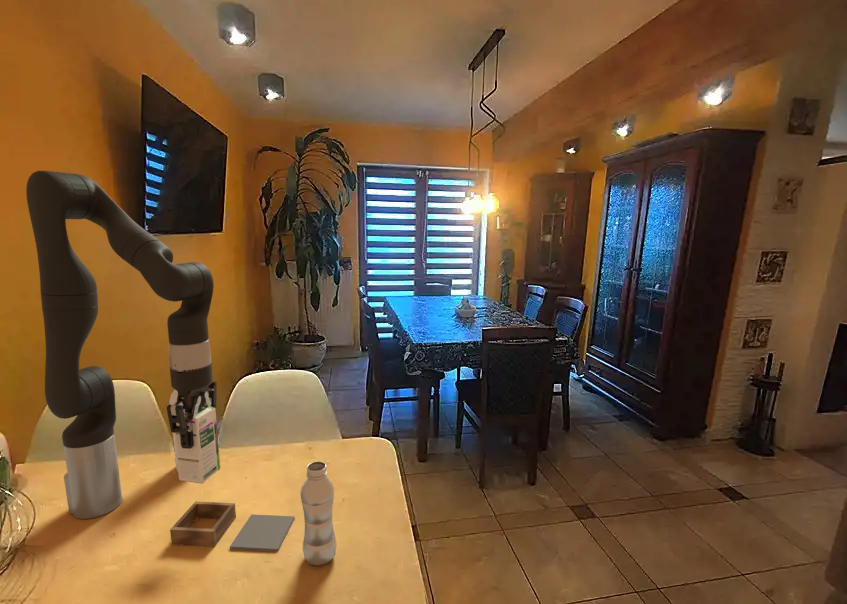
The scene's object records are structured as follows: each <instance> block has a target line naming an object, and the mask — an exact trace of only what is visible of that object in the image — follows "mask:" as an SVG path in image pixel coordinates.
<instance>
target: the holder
mask: <svg viewBox="0 0 847 604" xmlns="http://www.w3.org/2000/svg"><path fill="white" fill-rule="evenodd" d="M236 511H237V510H236V503H235V502H214V501H213V502H212V501H211V502H210V501H194V502H193V503H192V505H191V506H189V508H188V509H187V510H186V511H185V512H184V513H183V515H182V516H180V518H179V519H178V520H177V521H176V522H175V523H174V524H173V526H172V527H171V528H170V529H169V531H170V543H171V545H173V546H191V547H194V546H195V547H210V548H215V547H216V546H217V545H218V543H219V542H220V541H221V539H222V537H223V536H224V535H225V533H226V532H227V531H228V529H229V528H230V526H231V525H232V524H233V522H234V521H235V519H236V518H237V512H236ZM198 519H214V520H215V519H216V520H217V519H218V520H217V521H216V522H215V523H214V525H213V527H212V528H199V527H192V526H193V525H194V523H195V522H196V521H197V520H198Z"/></svg>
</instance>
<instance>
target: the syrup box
mask: <svg viewBox="0 0 847 604" xmlns="http://www.w3.org/2000/svg"><path fill="white" fill-rule="evenodd" d="M216 413H217V412H216V408H214V407H210V406H209V407H202V408H200V409H199V410H198V412H197V416H196V417H195V418H194V419H193V420H192V422H193V427H192V430H193V440H194V446H193V447H192V448H191V449H186V448H182V447H181V440H180V433H174V435H175V445H176V455H177V464H178V473H177V474H178V479H179V481H182V482H187V483H193V484H201V485H203V484H204V483H205V482H206V481H207V480H209V479H210V478H211V477H212V476H213V475H215V474H216V473H217V472H219V471H220V469H221V461H220V459H221V458H220V449H219V439H218V438H219V435H218V426H217V425H218V424H217V414H216ZM184 415H191V413H186V412H184ZM185 422H186V425H187V423H188V419H185ZM176 425H178V423H176Z"/></svg>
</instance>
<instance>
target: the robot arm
mask: <svg viewBox="0 0 847 604" xmlns="http://www.w3.org/2000/svg"><path fill="white" fill-rule="evenodd" d="M26 181H27V182H26V189H25V190H26V191H25V193H26V201H27V202H26V204H27V208H28V213H29V218H30V222H31V226H32V230H33V236H34V242H35V248H36V254H37V261H38V262H37V263H38V272H39V286H40V291H39V292H40V299H41V300H40V301H41V310H42V317H43V324H44V326H43V327H44V337H45V338H44V339H45V341H44V342H45V365H44V366H45V367H44V370H45V371H44V397H45V401H46V404H47V407H48V409H49V410H50V412H51V413H52V414H53V415H54V416H55V417H57V418H59V419H62V420H63V419H70V418H71V419H72V418H74V417H75V418H74V419H73V421H71V422H70V424H68V425H67V426H66V427H65V429H63V431H62V434H61V438H62V444H63V453H64V457H65V458H64V460H65V465H66V472H67V473H65V474H64V475H63V481H64V489H65V495H66V502H67V507H68V514H69V515H70V514H72V515H73V516H74V517H75V518H76V519H82V520H85V519H86V520H89V519H93V518H98V517H100V516H103V515H105V514H108V513H110V512H112V511H114V510H115V509H117V508H118V507H119V506H120V505H121V503H122V502H123V495H122V494H123V493H122V484H121V477H120V469H119V462H118V460H119V459H118V453H117V444H116V437H115V430H114V429H115V428H114V427H115V424H116V421H117V408H116V393H115V391H116V390H115V384H114V381H113V378H112V377H111V375H110V373H109V372H108V371H107V370H106V369H105V368H104V367H101V366H99V365H91V366H87V367H83V368H80V361H81V360H80V358H81V353H82V351H83V347H84V345H85V343H86V340H87V339H88V336H89V335H90V333H91V331H92V329H93V327H94V324H95V322H96V320H97V317H98V313H99V300H98V299H99V298H98V288H97V287H98V286H97V281H96V280H95V277H94V275H93V274H92V273H91V271H90V270H89V268H87V265H85V264H84V263H83V261H82V260H81V259H80V257H79V256H78V255H77V253H76V252H75V251H74V249H73V247H72V244H71V243H70V240H69V235H68V231H67V223H66V222H67V221H66V220H87V221H89V222H92V223H94V224H95V225H98V226H99V227H101V228H102V229H103V230H105V232H106V235H107V241H108V243H109V246H110V247H111V249H112V251H114V253H115V254H116V255H117V256H118V257H120V258H121V260H123V261H125V262H126V263H127V264H129V265H130V266H132V267H133V269H135V270H137V271H138V272H139V273H140V274H141V276H142V277H143V279H144V280H145V282H146V283H147V284H148V285H149V287H150V289H151V290H152V291H153V292H154V293H155V295H157V296H159V297H160V298H161V299H163V300H166V301H169V302H174V303H175V302H180V307H179V308H178V309H177V310H175V311H174V312H172V313H171V314H170V315H168V317H167V336H168V365H169V374H170V376H169V377H170V385H171V388H172V389H174V390H176V391H177V392H178V396H177V402H176V403H175V404H174V405H170V404H168V405H166V412H167V417H168V422H169V423H168V424H169V427H170V432H171V433H172V434H173V433H180V440H181V447H182V448H186V449H191V448H192V447H193V446H194V440H193V430H192V427H193V422H192V420H193V419H194V418H195V417H196V416H197V412H198V410H199V409H200V408H202V407H209V406H210V407H214V408H215V409H217V398H218V397H217V392H218V391H217V390H218V389H217V381H214V375H213V363H212V361H213V360H212V349H211V348H212V347H211V345H210V338H209V326H208V324H209V323H208V317H209V314H210V309H211V304H212V299H213V296H214V295H213V293H214V286H215V285H214V284H215V283H214V279H213V275H212V272H211V270H210V269H209V268H208V267H207V266H206V265H205V264H204V263H201V262H198V261H190V262H184V263H183V262H182V263H181V262H180V263H173V262H174V253H173V251H172V250H171V248H170V247H169V246H167V244H165V243H164V242H163V241H161V240H159V238H157V237H155V236H154V235H153V234H152V233H150V232H149V231H147V230H146V229H144V228H143V227H142V226H140V225H139V224H138V223H137V222H136V221H134V220H133V219H132V218H131V217H130V215H128V214H127V213H126V212H125V211H124V209H122V208H121V206H119V205H118V204H117V203H116V201H114V199H113V198H112V197H111V196H110V195H109V194H108V193H107V192H106V191H105V190H104V189H103V188H102V186H100V185H99V184H98V183H97V182H96V181H94V180H93V179H91V178H90V177H88V176H86V175H83V174H77V173H70V172H61V171H54V170H53V171H52V170H37V171H34V172H33V173H31V174H30V175H29V176H28V179H27V180H26ZM184 412H186V413H191V415H184ZM185 419H188V423H187V425H186V422H185ZM176 423H178V425H176Z"/></svg>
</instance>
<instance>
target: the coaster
mask: <svg viewBox="0 0 847 604" xmlns="http://www.w3.org/2000/svg"><path fill="white" fill-rule="evenodd" d="M295 520H296V517H295V515H293V516H292V515H275V514H273V515H270V514H255V513H254V514H253V513H252V514H250V516H249V517H248V519H247V520H246V522H245V523H244V524H243V526H242V528H241V529H240V530H239V532H238V534H237V535H236V537H235V538H234V540H232V542H231V544H230V546H229V550H239V551H240V550H241V551H259V552H260V551H261V552H277V553H278V552H279V550H280V548H281V546H282V544H283V542H284V541H285V538H286V536H287V534H288V533H289V531H290V529H291V527H292V525H293V523H294V521H295Z"/></svg>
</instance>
